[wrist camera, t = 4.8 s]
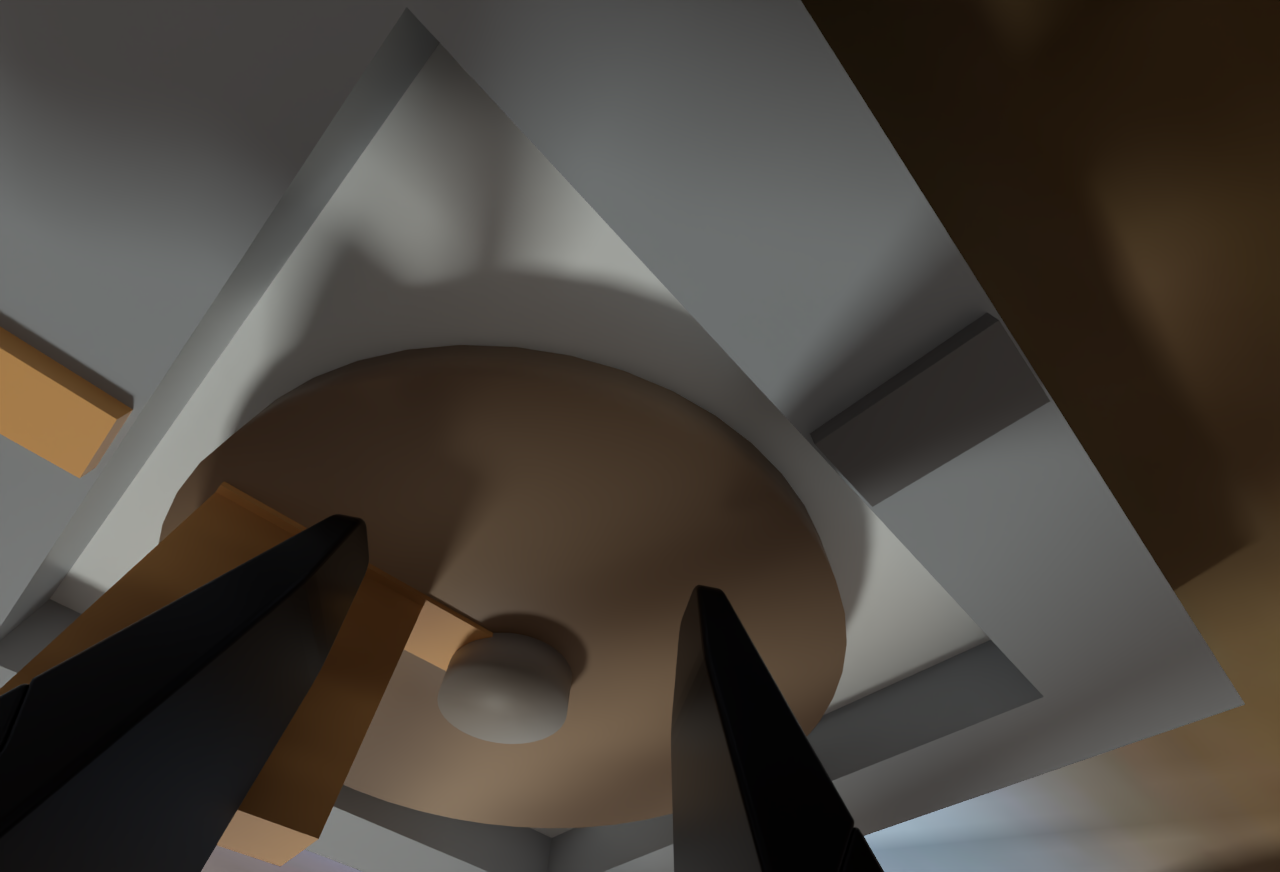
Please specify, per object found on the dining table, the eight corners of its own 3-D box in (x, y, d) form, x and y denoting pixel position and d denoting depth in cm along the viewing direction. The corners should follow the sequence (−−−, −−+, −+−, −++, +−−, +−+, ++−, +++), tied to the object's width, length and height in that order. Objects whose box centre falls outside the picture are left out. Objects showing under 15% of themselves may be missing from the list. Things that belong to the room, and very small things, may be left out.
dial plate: (561, 858, 22) (549, 954, 20) (-81, 562, 14) (-238, 662, 12) (1151, 606, 14) (1257, 717, 11) (422, -476, 6) (248, -901, 3)
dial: (957, 624, 12) (1122, 915, 8) (567, 828, 18) (539, 1066, 14) (416, 148, 8) (93, 226, 3) (111, 629, 13) (-159, 897, 9)
